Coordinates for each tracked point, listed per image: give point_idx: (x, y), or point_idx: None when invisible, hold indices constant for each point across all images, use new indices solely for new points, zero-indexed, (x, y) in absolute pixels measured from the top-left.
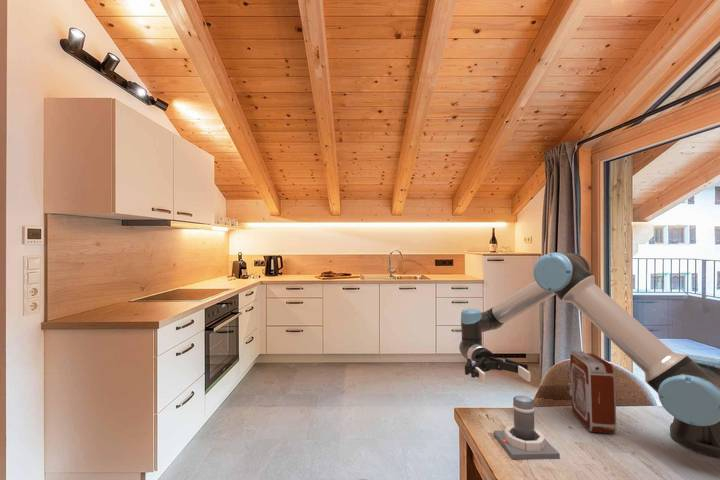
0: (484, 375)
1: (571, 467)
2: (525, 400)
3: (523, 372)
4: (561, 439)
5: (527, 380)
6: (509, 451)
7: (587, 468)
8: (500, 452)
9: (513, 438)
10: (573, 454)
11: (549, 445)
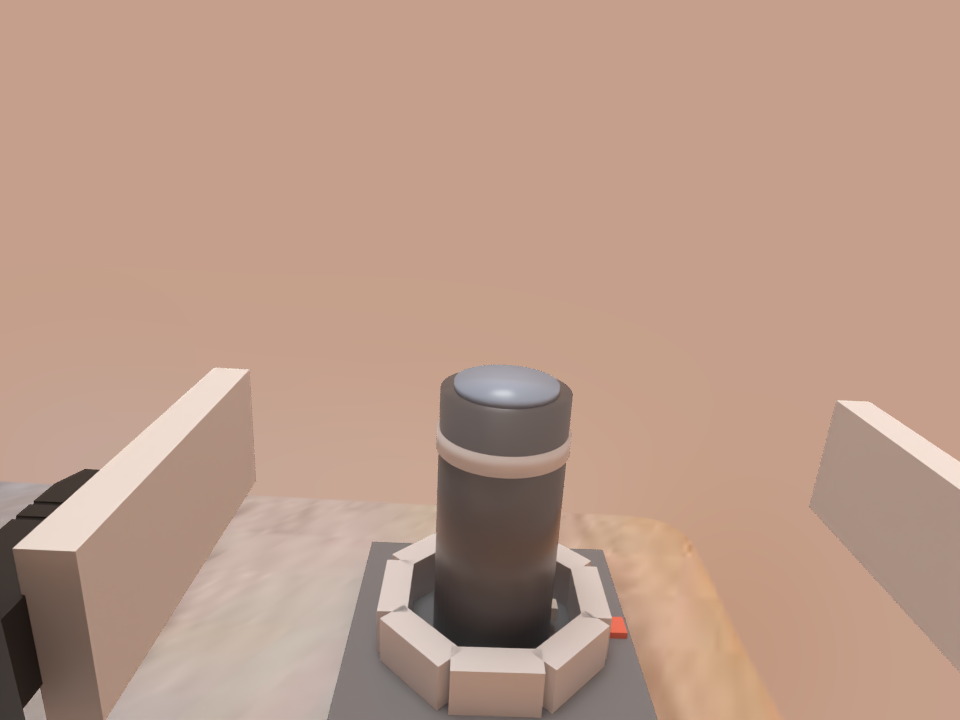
0: (841, 420)
1: (370, 522)
2: (505, 371)
3: (197, 474)
4: (191, 696)
5: (248, 485)
6: (608, 573)
7: (310, 515)
8: (647, 612)
9: (578, 559)
10: (276, 579)
11: (370, 589)
